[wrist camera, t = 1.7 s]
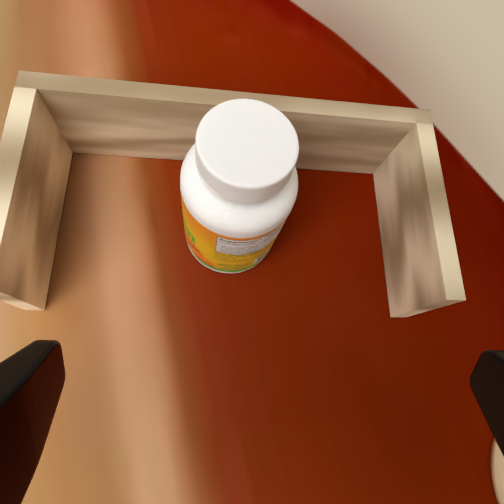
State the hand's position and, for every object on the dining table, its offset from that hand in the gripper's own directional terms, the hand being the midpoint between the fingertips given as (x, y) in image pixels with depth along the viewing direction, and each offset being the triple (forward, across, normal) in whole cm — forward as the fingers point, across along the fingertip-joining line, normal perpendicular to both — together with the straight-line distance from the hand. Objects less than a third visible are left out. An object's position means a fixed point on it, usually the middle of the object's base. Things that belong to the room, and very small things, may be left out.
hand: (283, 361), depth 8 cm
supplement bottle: (+15, 0, +4) cm, 16 cm away
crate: (+15, 0, +4) cm, 16 cm away
